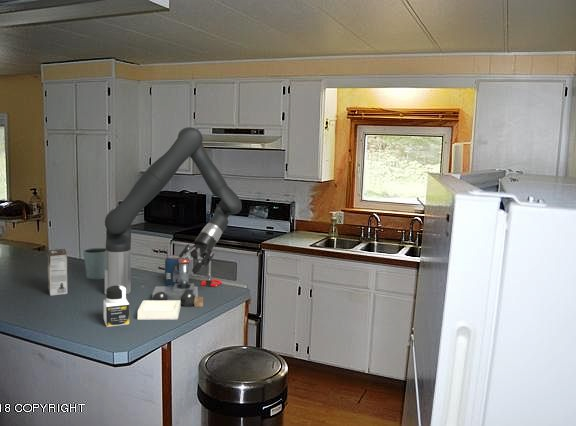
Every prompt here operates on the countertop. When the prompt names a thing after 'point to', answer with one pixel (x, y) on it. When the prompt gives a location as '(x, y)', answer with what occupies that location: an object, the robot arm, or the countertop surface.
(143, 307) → the tray
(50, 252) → the coffee box
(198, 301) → the block
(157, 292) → the trolley
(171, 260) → the soda can
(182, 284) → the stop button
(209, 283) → the tow hook
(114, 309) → the medicine bottle
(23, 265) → the countertop surface
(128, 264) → the robot arm
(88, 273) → the teal cup
